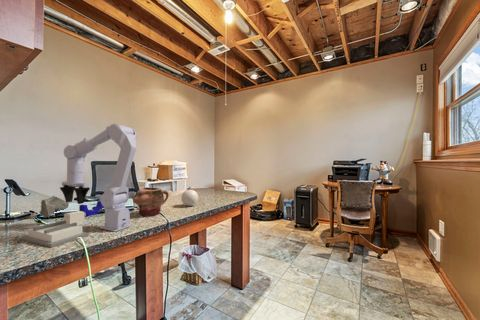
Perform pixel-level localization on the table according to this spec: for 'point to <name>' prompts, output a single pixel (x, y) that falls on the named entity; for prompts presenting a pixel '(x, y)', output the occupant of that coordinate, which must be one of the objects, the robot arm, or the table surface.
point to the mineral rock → (52, 206)
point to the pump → (74, 217)
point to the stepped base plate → (54, 234)
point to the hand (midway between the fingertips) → (74, 202)
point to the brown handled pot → (150, 201)
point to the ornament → (189, 197)
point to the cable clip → (96, 208)
